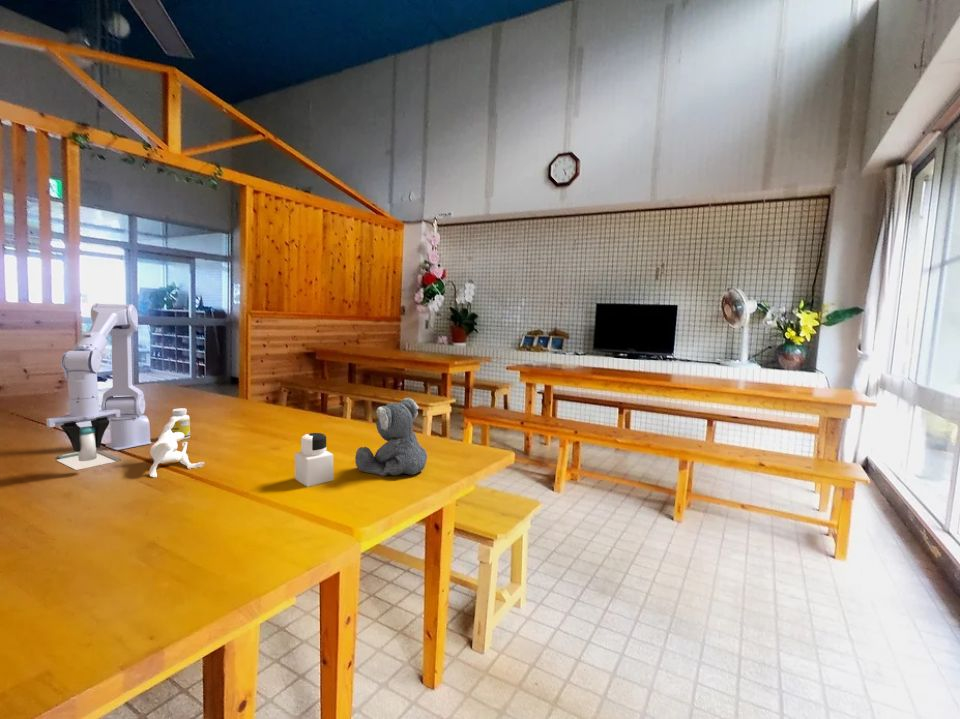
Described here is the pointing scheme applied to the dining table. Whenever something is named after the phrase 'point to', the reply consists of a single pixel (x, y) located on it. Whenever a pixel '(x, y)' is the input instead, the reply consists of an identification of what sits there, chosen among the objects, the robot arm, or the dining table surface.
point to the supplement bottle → (181, 422)
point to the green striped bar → (67, 455)
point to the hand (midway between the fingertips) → (87, 449)
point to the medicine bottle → (313, 461)
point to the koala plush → (394, 442)
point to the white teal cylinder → (87, 443)
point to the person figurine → (170, 448)
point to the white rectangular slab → (76, 464)
